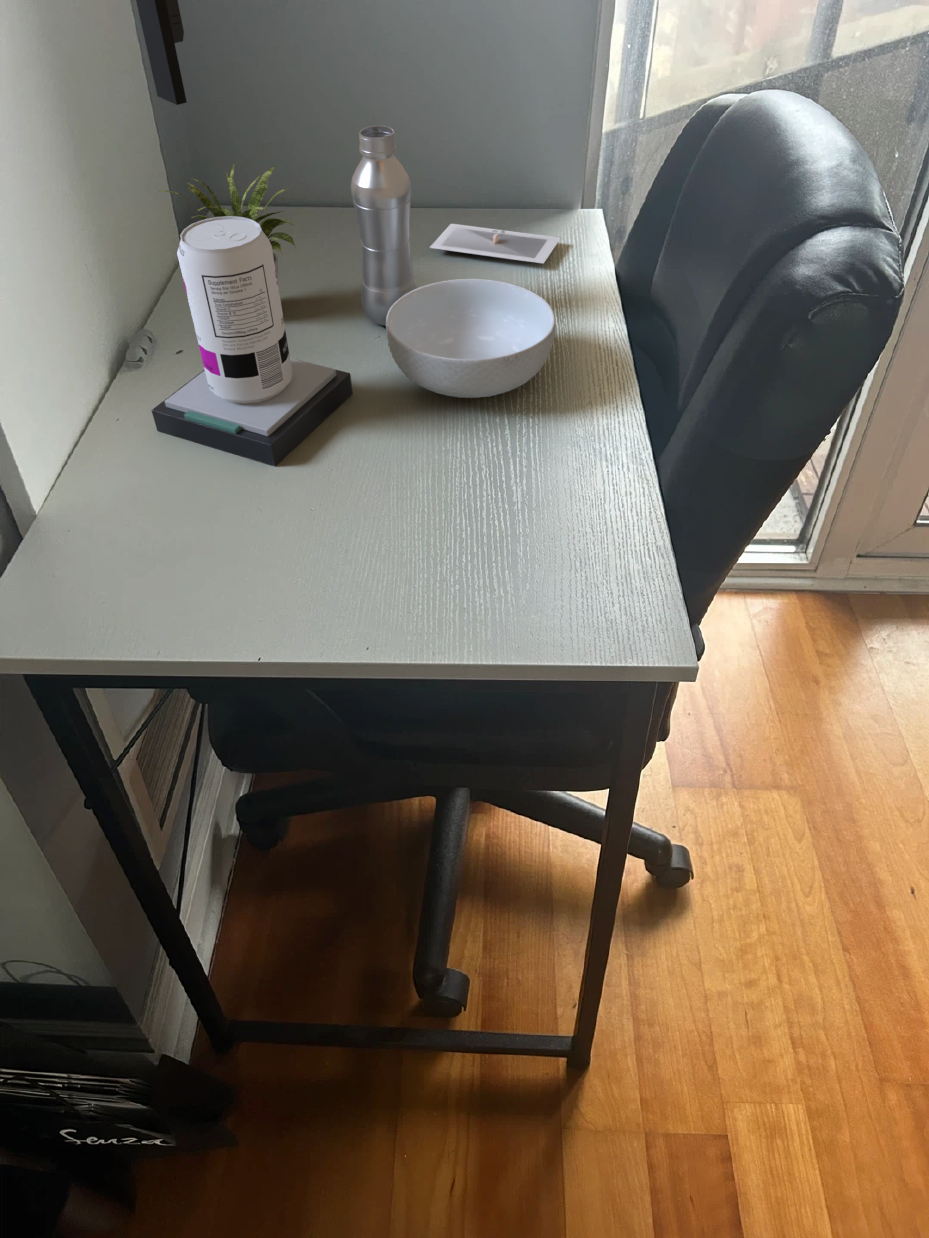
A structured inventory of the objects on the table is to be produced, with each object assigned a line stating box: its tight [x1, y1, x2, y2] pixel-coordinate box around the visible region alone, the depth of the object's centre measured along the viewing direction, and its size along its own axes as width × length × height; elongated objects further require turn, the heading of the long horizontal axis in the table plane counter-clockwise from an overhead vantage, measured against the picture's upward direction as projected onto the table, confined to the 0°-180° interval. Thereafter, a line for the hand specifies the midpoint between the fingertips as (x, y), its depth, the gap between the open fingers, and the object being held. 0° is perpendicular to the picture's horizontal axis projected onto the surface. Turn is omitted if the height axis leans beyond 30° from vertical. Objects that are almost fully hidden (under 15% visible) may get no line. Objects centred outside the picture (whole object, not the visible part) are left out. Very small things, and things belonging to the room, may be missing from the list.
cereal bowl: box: [385, 278, 557, 399], centre depth 96 cm, size 17×17×7 cm
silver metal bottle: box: [350, 125, 418, 327], centre depth 101 cm, size 6×7×20 cm
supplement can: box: [176, 215, 293, 404], centre depth 87 cm, size 8×8×15 cm
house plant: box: [159, 163, 296, 283], centre depth 103 cm, size 14×14×16 cm
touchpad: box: [429, 223, 562, 265], centre depth 120 cm, size 8×15×2 cm, turn 70°
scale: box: [151, 357, 354, 467], centre depth 94 cm, size 14×14×3 cm
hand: (79, 123), depth 61 cm, fingers open, 13 cm apart
